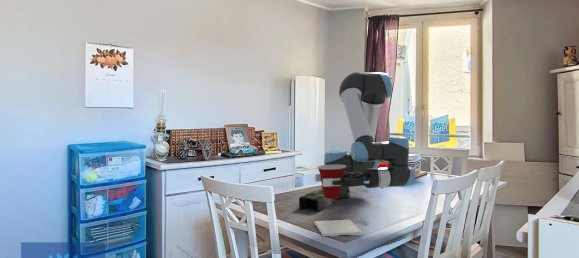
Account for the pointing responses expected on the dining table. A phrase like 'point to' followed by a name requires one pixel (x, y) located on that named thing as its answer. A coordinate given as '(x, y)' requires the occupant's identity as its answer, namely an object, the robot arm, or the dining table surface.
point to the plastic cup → (331, 172)
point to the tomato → (383, 165)
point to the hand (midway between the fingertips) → (319, 180)
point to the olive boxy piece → (317, 197)
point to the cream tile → (337, 228)
